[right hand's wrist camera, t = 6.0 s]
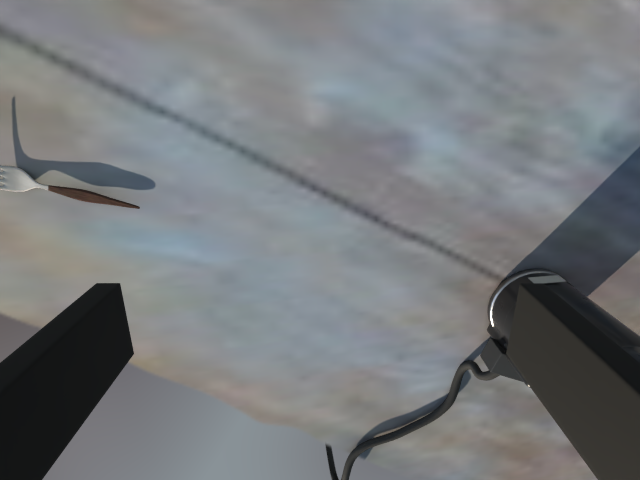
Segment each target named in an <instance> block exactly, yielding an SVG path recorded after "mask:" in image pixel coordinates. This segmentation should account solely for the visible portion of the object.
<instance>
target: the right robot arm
mask: <svg viewBox="0 0 640 480" xmlns="http://www.w3.org/2000/svg"><path fill="white" fill-rule="evenodd" d="M133 354H134V352H133V347H132V342H131V337H130V332H129V326H128V321H127V316H126V311H125V306H124V301H123V296H122V291H121V286H120V283H96V284H95V285H94V286H93V287H92V288H90V289H89V290H88V291H87V292H86V293H84V294H83V295H82V296H81V297H80V298H78V299H77V300H76V301H75V302H73V303H72V304H71V305H70V306H69V307H67V308H66V309H65V310H64V311H63V312H61V313H60V314H59V315H58V316H57V317H55V318H54V319H53V320H52V321H50V322H49V323H48V324H47V325H46V326H44V327H43V328H42V329H41V330H40V331H38V332H37V333H36V334H35V335H34V336H32V337H31V338H30V339H29V340H27V341H26V342H25V343H24V344H23V345H21V346H20V347H19V348H18V349H17V350H15V351H14V352H13V353H12V354H11V355H9V356H8V357H7V358H6V359H5V360H3V361H2V362H1V363H0V480H42V479H43V478H44V476H45V475H46V473H47V472H48V471H49V469H50V468H51V467H52V465H53V464H54V463H55V461H56V460H57V458H58V457H59V456H60V454H61V453H62V452H63V450H64V449H65V447H66V446H67V445H68V443H69V442H70V441H71V439H72V438H73V436H74V435H75V434H76V432H77V431H78V430H79V428H80V427H81V426H82V424H83V423H84V421H85V420H86V419H87V417H88V416H89V415H90V413H91V412H92V410H93V409H94V408H95V406H96V405H97V404H98V402H99V401H100V399H101V398H102V397H103V395H104V394H105V393H106V391H107V390H108V389H109V387H110V386H111V384H112V383H113V382H114V380H115V379H116V378H117V376H118V375H119V373H120V372H121V371H122V369H123V368H124V367H125V365H126V364H127V363H128V361H129V360H130V358H131V357H132V356H133ZM506 354H507V356H508V357H509V358H510V360H511V361H512V363H513V364H514V365H515V367H516V368H517V369H518V371H519V372H520V373H521V375H522V376H523V378H524V379H525V380H526V382H527V383H528V384H529V386H530V387H531V389H532V390H533V391H534V393H535V394H536V395H537V397H538V398H539V400H540V401H541V402H542V404H543V405H544V406H545V408H546V409H547V410H548V412H549V413H550V415H551V416H552V417H553V419H554V420H555V421H556V423H557V424H558V426H559V427H560V428H561V430H562V431H563V432H564V434H565V435H566V437H567V438H568V439H569V441H570V442H571V443H572V445H573V446H574V447H575V449H576V450H577V452H578V453H579V454H580V456H581V457H582V458H583V460H584V461H585V463H586V464H587V465H588V467H589V468H590V469H591V471H592V472H593V473H594V475H595V476H596V478H597V479H598V480H640V363H639V362H638V361H637V360H636V359H634V358H633V357H632V356H631V355H629V354H628V353H627V352H626V351H625V350H623V349H622V348H621V347H620V346H619V345H617V344H616V343H615V342H614V341H613V340H611V339H610V338H609V337H608V336H606V335H605V334H604V333H603V332H602V331H600V330H599V329H598V328H597V327H596V326H594V325H593V324H592V323H591V322H590V321H588V320H587V319H586V318H585V317H583V316H582V315H581V314H580V313H579V312H577V311H576V310H575V309H574V308H573V307H571V306H570V305H569V304H568V303H567V302H565V301H564V300H563V299H562V298H560V297H559V296H558V295H557V294H556V293H554V292H553V291H552V290H551V289H550V288H548V287H547V286H546V285H545V284H544V283H520V286H519V291H518V296H517V301H516V306H515V311H514V316H513V321H512V326H511V332H510V337H509V342H508V347H507V352H506Z"/></svg>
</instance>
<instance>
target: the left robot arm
mask: <svg viewBox="0 0 640 480" xmlns="http://www.w3.org/2000/svg"><path fill="white" fill-rule="evenodd" d="M520 283H544V284H545V285H546V286H547V287H548V288H550V289H551V290H552V291H553V292H554V293H556V294H557V295H558V296H559V297H560V298H562V299H563V300H564V301H565V302H567V303H568V304H569V305H570V306H571V307H573V308H574V309H575V310H576V311H577V312H579V313H580V314H581V315H582V316H583V317H585V318H586V319H587V320H588V321H590V322H591V323H592V324H593V325H594V326H596V327H597V328H598V329H599V330H600V331H602V332H603V333H604V334H605V335H606V336H608V337H609V338H610V339H611V340H613V341H614V342H615V343H616V344H617V345H619V346H620V347H621V348H622V349H623V350H625V351H626V352H627V353H628V354H629V355H631V356H632V357H633V358H634V359H636V360H637V361H638V362H639V363H640V336H639V335H637V334H636V333H635V332H633V331H632V330H631V329H629V328H628V327H627V326H625V325H624V324H623V323H621V322H620V321H618V320H617V319H616V318H614V317H613V316H612V315H610V314H609V313H608V312H606V311H605V310H604V309H602V308H601V307H600V306H598V305H597V304H596V303H594V302H593V301H592V300H590V299H589V298H588V297H586V296H585V295H583V294H582V293H581V292H579V291H578V290H577V289H575V288H574V287H573V286H572V285H571V284H569V283H568V282H567V281H566V280H565V279H564V278H562V277H561V276H559V275H558V274H556V273H554V272H552V271H549V270H545V269H529V270H525V271H521V272H518V273H516V274H514V275H512V276H510V277H509V278H507V279H506V280H505V281H503V282H502V283H501V284H500V285H499V286H498V287H497V288H496V290H495V291H494V293H493V294H492V296H491V299H490V301H489V305H488V318H489V321H490V325H489V327H488V329H487V331H488V333H489V334H490V335H491V337H492V338H490V339H489V341H488V343H487V344H486V346H485V348H484V350H483V351H482V353H481V355H480V356H481V358H482V359H483V361H484V363H485V364H486V366H487V367H488V369H489V371H487V372H482V371H481V370H480V368H479V366H478V365H477V364H476V363H475V362H474V361H465V362H464V363H462V364H461V365H460V366H459V368H458V369H457V371H456V374H455V376H454V379H453V382H452V385H451V389H450V392H449V394H448V397H447V398H446V400H445V401H444V402H443V404H441V405H440V406H439V407H438V408H437V409H436V410H434V411H433V412H431V413H430V414H428V415H427V416H425V417H423V418H421V419H419V420H417V421H415V422H413V423H411V424H409V425H407V426H405V427H403V428H401V429H399V430H396V431H394V432H391V433H388V434H385V435H382V436H379V437H376V438H373V439H370V440H368V441H366V442H364V443H362V444H360V445H359V446H357V447H356V448H355V449H354V450H353V451H352V452H351V453H350V455H349V456H348V458H347V461H346V463H345V466H344V470H343V475H342V478H341V480H349V476H350V472H351V468H352V466H353V463H354V461H355V459H356V458H357V457H358V456H359V455H360V454H361V453H362V452H364V451H365V450H367V449H369V448H371V447H374V446H377V445H380V444H383V443H386V442H389V441H392V440H395V439H398V438H400V437H402V436H404V435H406V434H408V433H410V432H413V431H415V430H417V429H419V428H421V427H423V426H425V425H427V424H429V423H431V422H432V421H434V420H436V419H437V418H439V417H440V416H441V415H443V414H444V413H445V412H446V411H447V410H448V409H449V408H450V407H451V406H452V405H453V403H454V401H455V399H456V397H457V394H458V391H459V387H460V384H461V380H462V377H463V374H464V373H465V371H466V370H468V369H471V370H472V372H473V374H474V375H475V376H476V377H477V378H478V379H480V380H492V379H494V378H496V377H498V376H499V375H502V376H505V377H508V378H512V379H515V380H519V381H522V382H524V383H525V384H526V385H527V386H528V387H530V386H529V384H528V383H527V382H526V380H525V379H524V378H523V376H522V375H521V373H520V372H519V371H518V369H517V368H516V367H515V365H514V364H513V363H512V361H511V360H510V358H509V357H508V356H507V354H506V352H507V347H508V342H509V337H510V332H511V326H512V321H513V316H514V311H515V306H516V301H517V296H518V291H519V286H520ZM530 388H531V387H530ZM325 446H326V452H327V458H328V464H329V470H330V475H331V479H332V480H339V479H338V476H337V473H336V468H335V464H334V458H333V453H332V447H331V446H329V445H327V444H325Z"/></svg>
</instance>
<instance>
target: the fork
mask: <svg viewBox="0 0 640 480" xmlns="http://www.w3.org/2000/svg"><path fill="white" fill-rule="evenodd" d="M0 169H1V170H3V172H0V176H2V177H4V178H3V179H0V183H3V184H4V185H3V186H0V190H7V191H14V192H23V191H27V190H30V189H33V188H42V189H46V190H49V191H52V192H55V193H58V194H61V195H64V196H67V197H70V198H73V199H77V200H80V201H85V202H92V203H100V204H108V205H115V206H122V207H129V208H137V209H140V207H139V206H136V205H133V204H129V203H126V202H123V201H119V200H116V199H113V198H109V197H106V196H103V195H100V194H97V193H94V192H91V191H87V190H82V189H75V188H67V187H58V186H50V185H43V184H40V183H38V182H36V181H35V180H34V179H33V178H32V177H31V176H29V175H28V174H27V173H26V172H25V171H23V170H22V169H20V168H17V167H13V166H0Z"/></svg>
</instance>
